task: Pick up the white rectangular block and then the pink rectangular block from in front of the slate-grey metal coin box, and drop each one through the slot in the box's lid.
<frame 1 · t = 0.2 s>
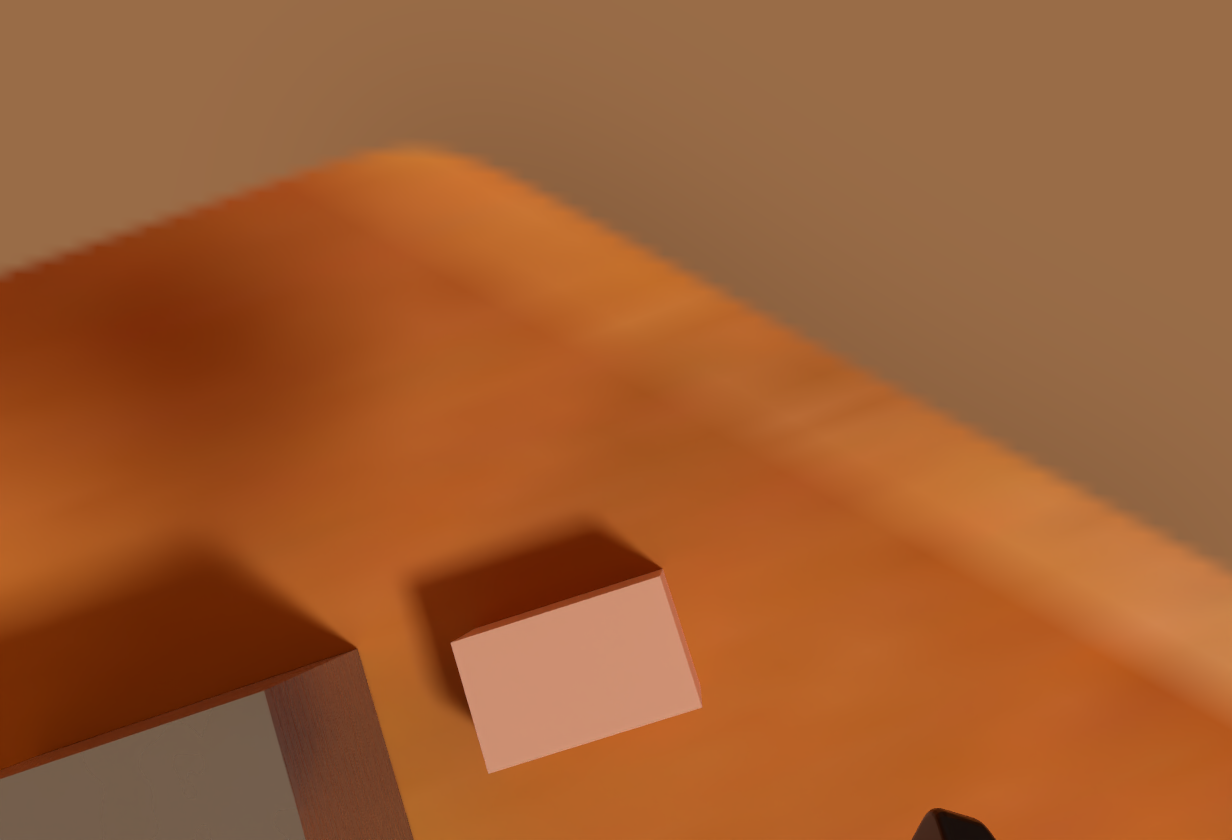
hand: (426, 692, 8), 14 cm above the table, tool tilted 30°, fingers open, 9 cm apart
pink rectangular block: (586, 655, 22), on the table
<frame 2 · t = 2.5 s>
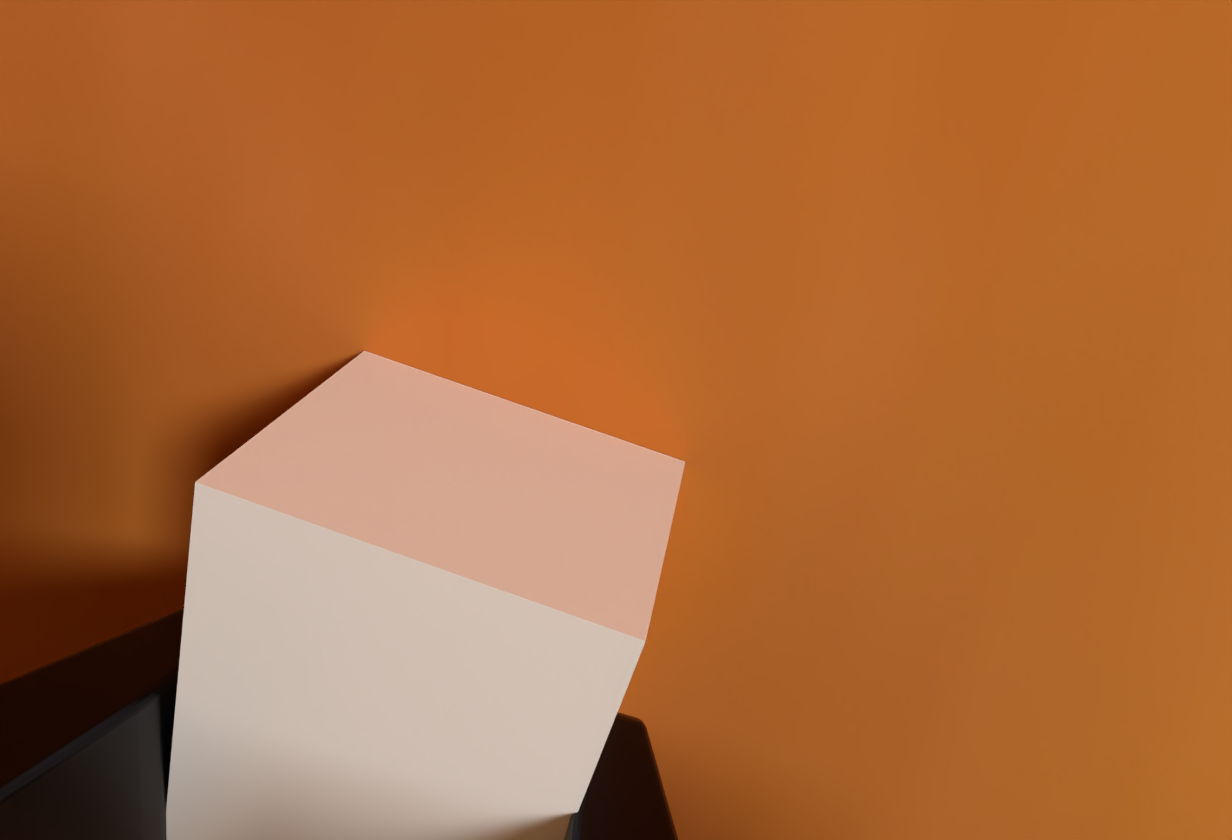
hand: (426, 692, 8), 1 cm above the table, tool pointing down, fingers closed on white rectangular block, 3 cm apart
white rectangular block: (465, 620, 9), on the table, touching gripper
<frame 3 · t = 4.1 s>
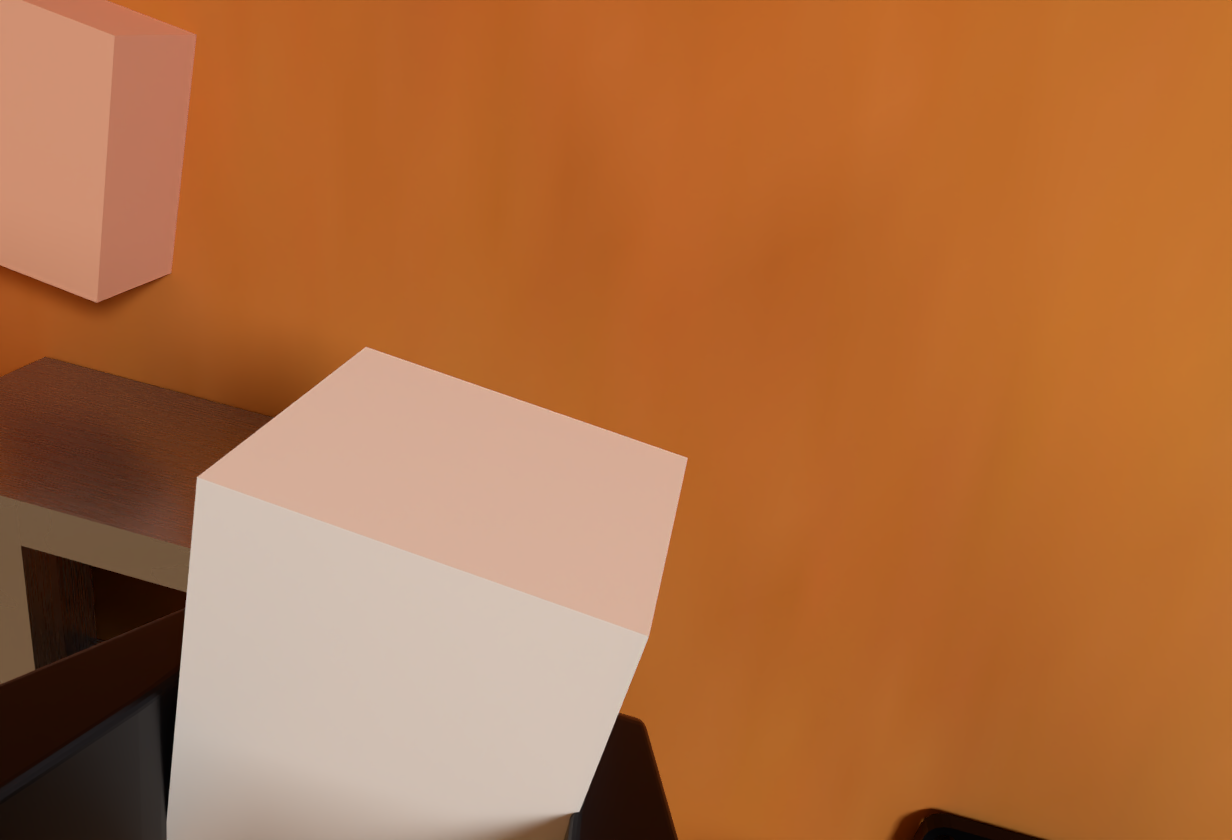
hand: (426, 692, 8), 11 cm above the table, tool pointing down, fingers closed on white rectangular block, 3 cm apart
white rectangular block: (467, 617, 9), point 10 cm above the table, touching gripper
coin box: (281, 579, 22), on the table
pink rectangular block: (122, 133, 18), on the table
when the fingers open (8 cm above the table, at t = 5.6 s): white rectangular block drops 7 cm, resting in coin box.
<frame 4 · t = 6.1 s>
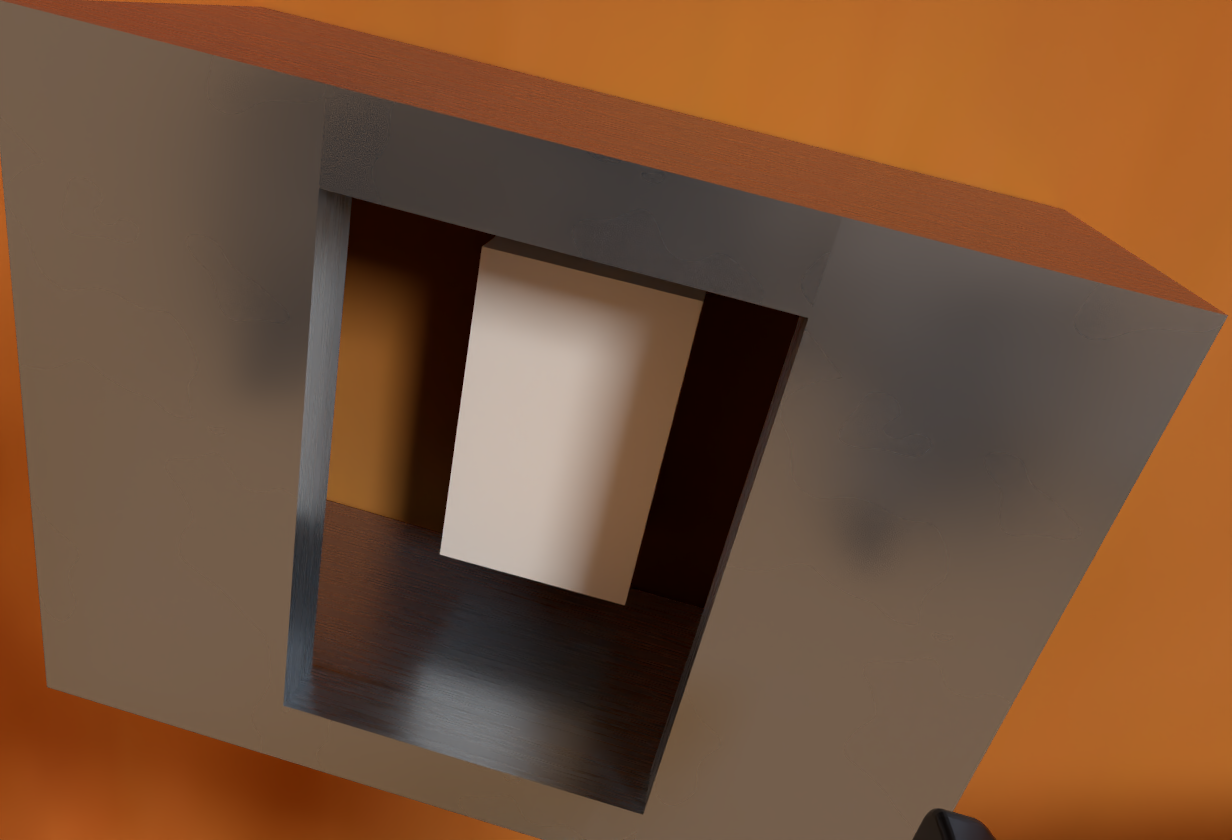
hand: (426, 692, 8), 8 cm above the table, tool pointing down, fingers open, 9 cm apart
white rectangular block: (592, 376, 15), resting in coin box
coin box: (588, 384, 15), on the table
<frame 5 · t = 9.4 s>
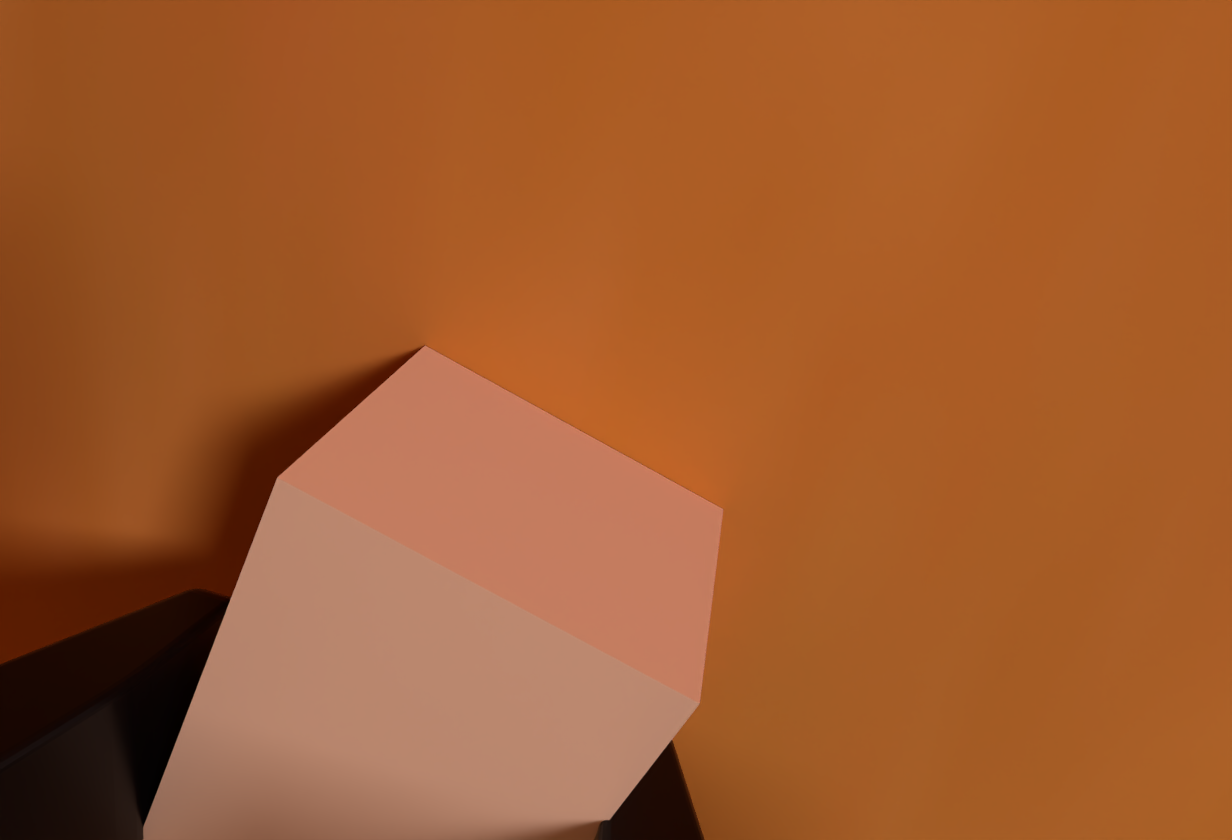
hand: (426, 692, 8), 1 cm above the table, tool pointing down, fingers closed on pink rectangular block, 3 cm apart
pink rectangular block: (467, 620, 9), on the table, touching gripper
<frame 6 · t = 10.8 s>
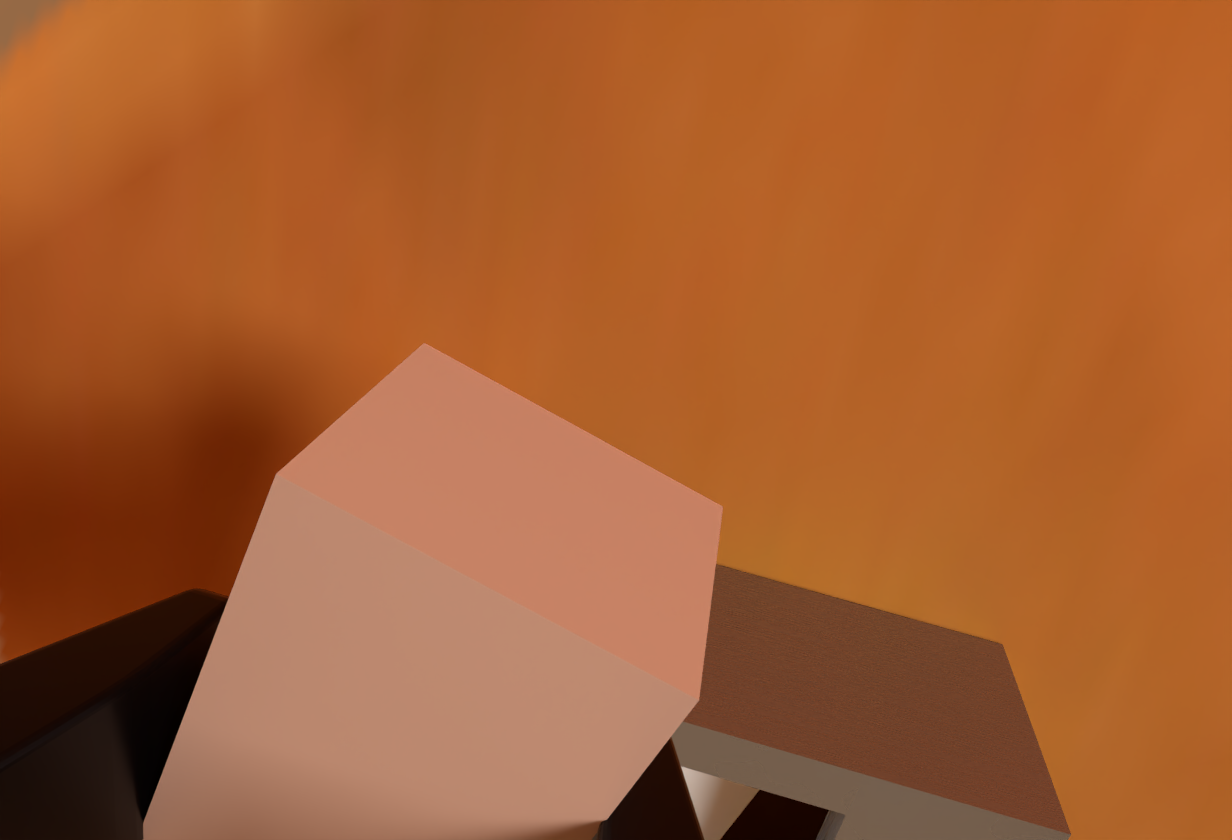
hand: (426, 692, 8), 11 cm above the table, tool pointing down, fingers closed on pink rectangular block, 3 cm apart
white rectangular block: (687, 709, 22), resting in coin box
coin box: (685, 717, 21), on the table
pink rectangular block: (467, 618, 9), point 10 cm above the table, touching gripper
when the fingers open (8 cm above the table, at t = 12.3 s): pink rectangular block drops 4 cm, resting on white rectangular block.
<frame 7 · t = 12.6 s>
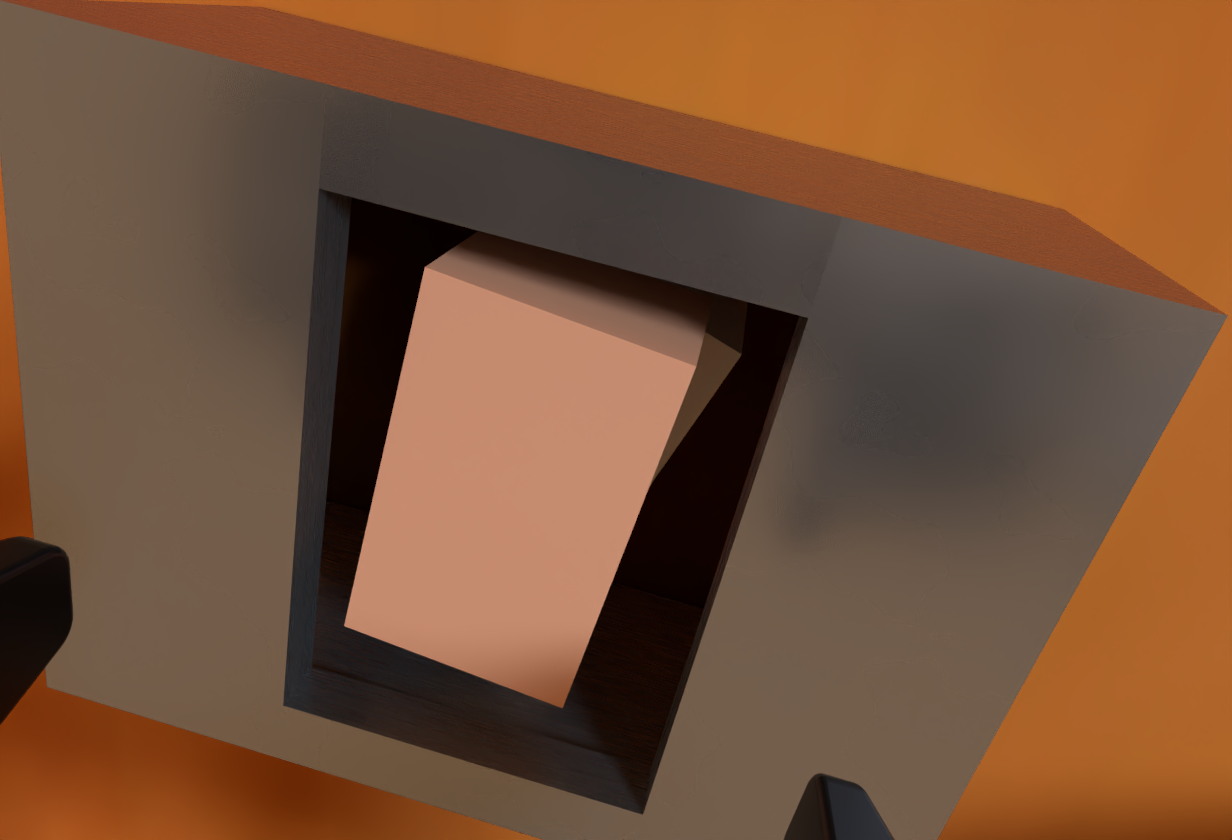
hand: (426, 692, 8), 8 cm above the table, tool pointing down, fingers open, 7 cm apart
white rectangular block: (589, 375, 15), resting in coin box, touching pink rectangular block
coin box: (588, 384, 15), on the table
pink rectangular block: (551, 423, 12), point 2 cm above the table, touching white rectangular block
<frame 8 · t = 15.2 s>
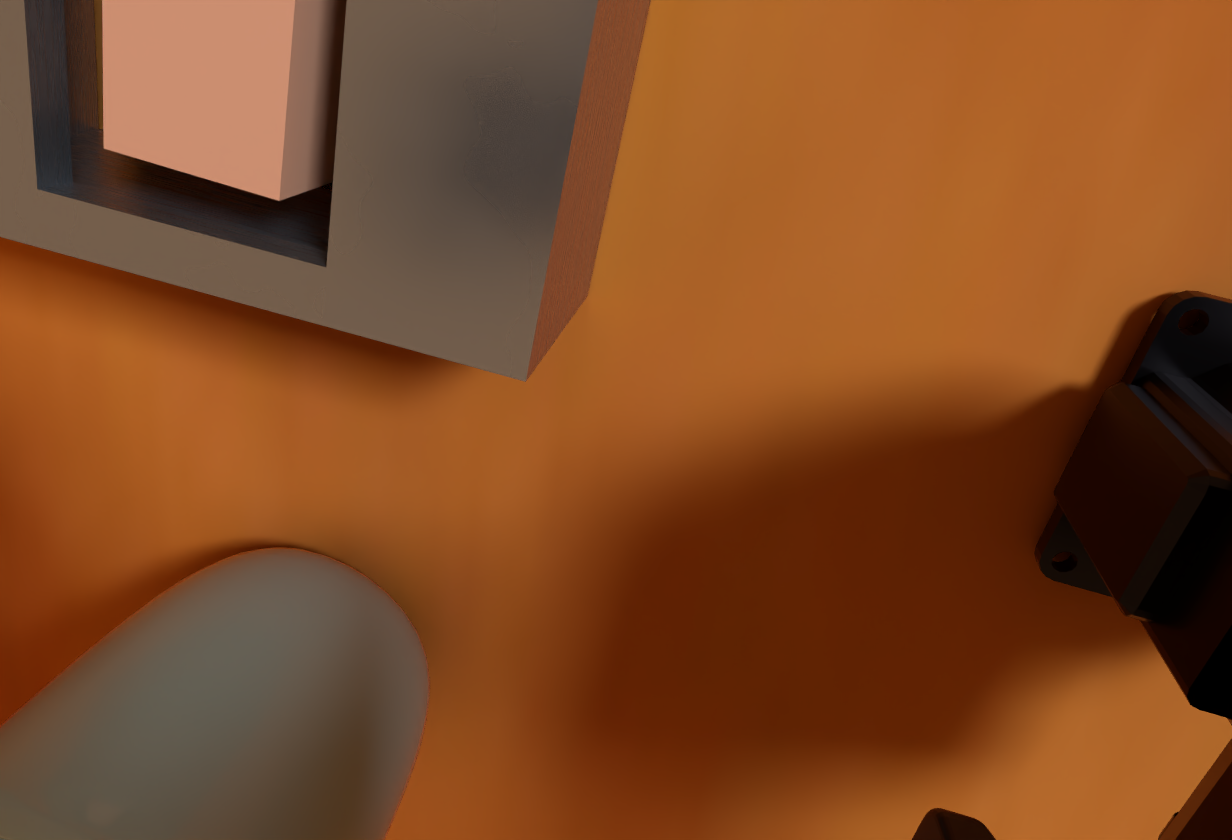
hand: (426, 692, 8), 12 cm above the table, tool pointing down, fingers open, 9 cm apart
cup: (332, 624, 24), on the table
coin box: (338, 1, 17), on the table
pink rectangular block: (283, 9, 15), point 2 cm above the table, touching white rectangular block
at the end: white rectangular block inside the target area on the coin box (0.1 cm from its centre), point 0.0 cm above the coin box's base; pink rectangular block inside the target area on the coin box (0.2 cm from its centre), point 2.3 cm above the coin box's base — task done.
